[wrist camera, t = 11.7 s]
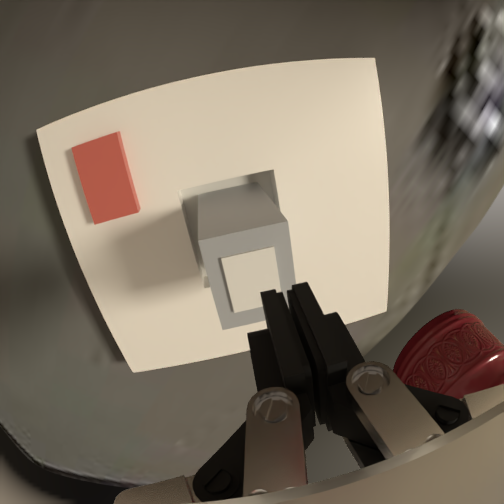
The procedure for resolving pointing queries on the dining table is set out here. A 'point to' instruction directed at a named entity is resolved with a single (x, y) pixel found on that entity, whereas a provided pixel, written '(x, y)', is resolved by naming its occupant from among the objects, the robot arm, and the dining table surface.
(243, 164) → the switch plate
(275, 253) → the plug
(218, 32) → the dining table surface
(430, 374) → the canister
